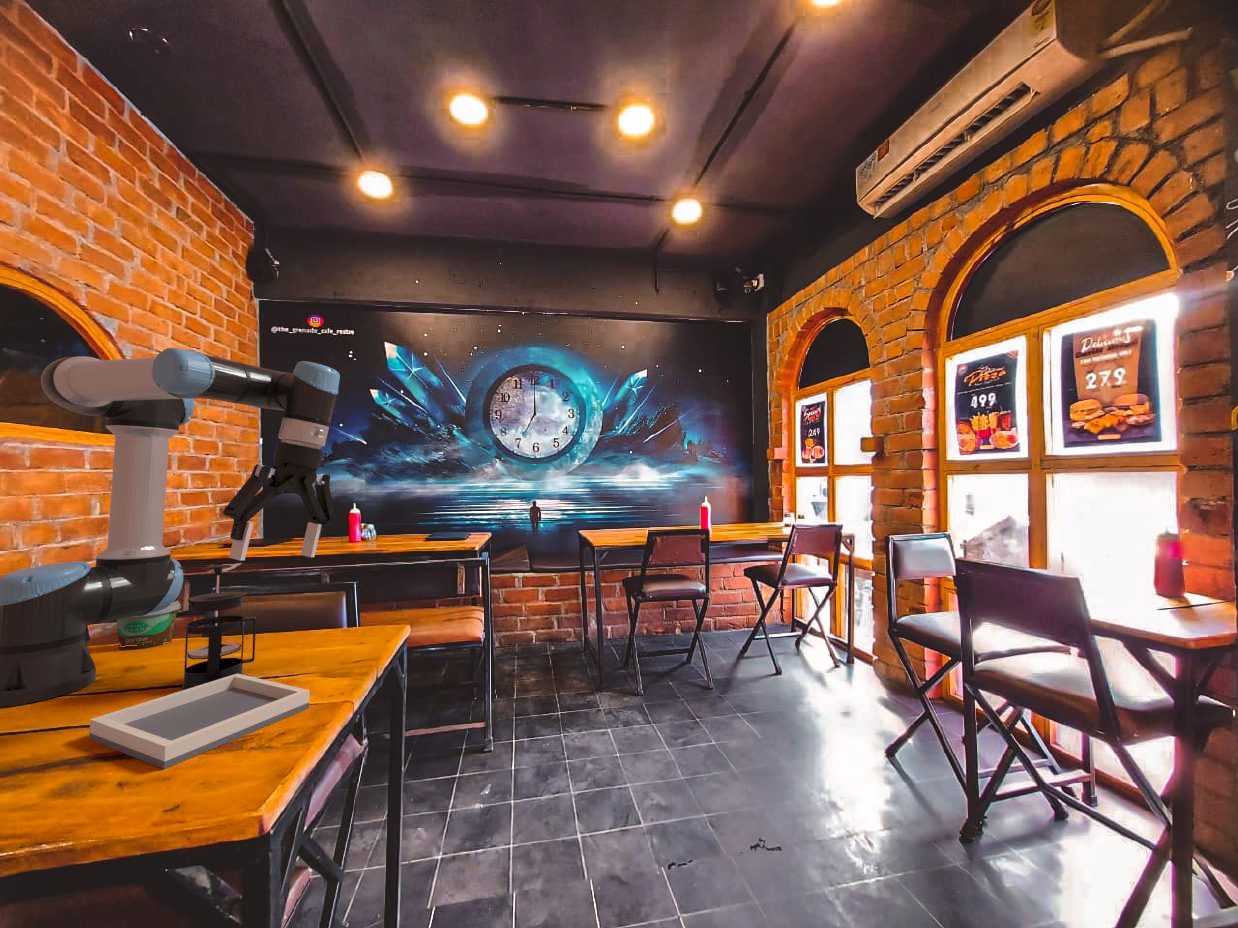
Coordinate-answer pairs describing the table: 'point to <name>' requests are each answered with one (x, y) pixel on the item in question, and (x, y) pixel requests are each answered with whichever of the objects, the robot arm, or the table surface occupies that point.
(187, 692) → the serving tray
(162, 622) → the food container
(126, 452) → the robot arm
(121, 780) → the table surface
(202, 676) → the french press
